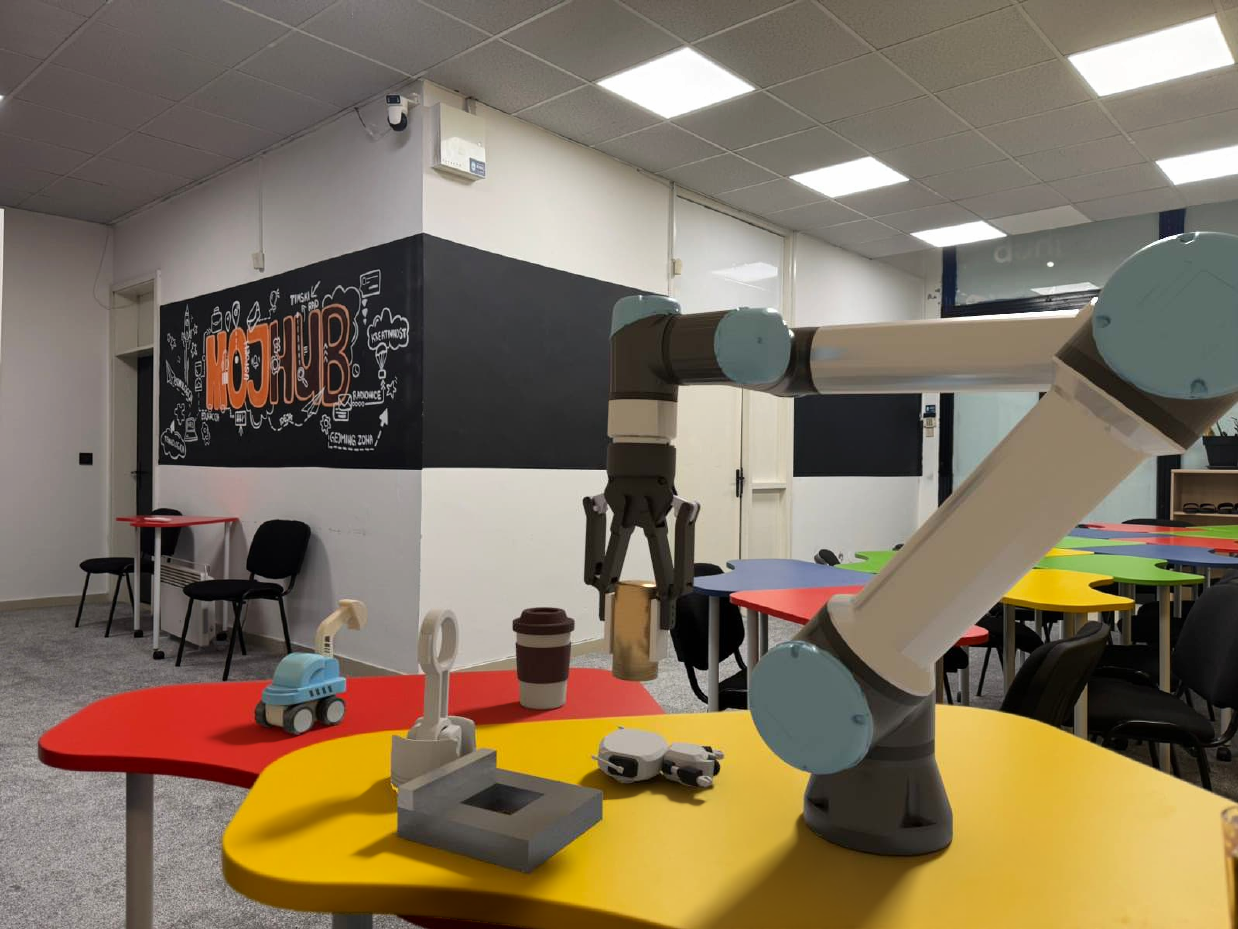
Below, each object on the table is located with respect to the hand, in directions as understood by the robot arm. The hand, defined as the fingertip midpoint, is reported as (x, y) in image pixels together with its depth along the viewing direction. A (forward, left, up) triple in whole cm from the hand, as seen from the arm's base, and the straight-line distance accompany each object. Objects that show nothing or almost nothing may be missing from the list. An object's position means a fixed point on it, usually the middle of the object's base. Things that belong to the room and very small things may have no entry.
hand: (635, 655), depth 91 cm
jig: (+10, +10, -17) cm, 22 cm away
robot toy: (+2, -11, -18) cm, 21 cm away
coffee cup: (+32, -31, -17) cm, 48 cm away
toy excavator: (+56, -7, -18) cm, 59 cm away
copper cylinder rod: (0, 0, -2) cm, 2 cm away
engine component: (+25, +3, -17) cm, 31 cm away
